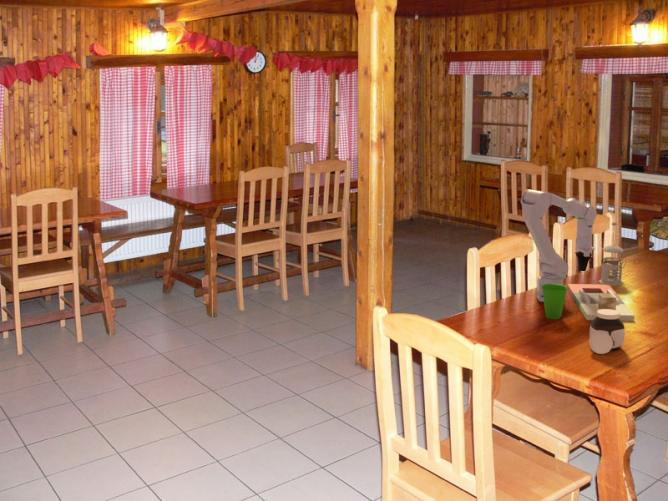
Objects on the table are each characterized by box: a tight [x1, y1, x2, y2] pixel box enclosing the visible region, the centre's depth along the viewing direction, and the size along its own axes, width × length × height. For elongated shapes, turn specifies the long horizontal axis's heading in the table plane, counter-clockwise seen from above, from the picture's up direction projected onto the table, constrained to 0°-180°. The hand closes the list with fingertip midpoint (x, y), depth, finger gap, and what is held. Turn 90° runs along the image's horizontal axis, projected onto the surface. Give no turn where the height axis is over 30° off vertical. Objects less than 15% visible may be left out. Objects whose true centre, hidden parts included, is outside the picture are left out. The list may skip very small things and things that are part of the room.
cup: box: [541, 284, 568, 320], centre depth 293 cm, size 9×9×11 cm
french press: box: [598, 221, 627, 286], centre depth 338 cm, size 10×12×25 cm
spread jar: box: [588, 309, 626, 355], centre depth 259 cm, size 12×11×12 cm
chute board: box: [566, 283, 636, 322], centre depth 310 cm, size 16×42×4 cm, turn 174°
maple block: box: [598, 294, 617, 310], centre depth 295 cm, size 5×5×5 cm
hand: (582, 270), depth 321 cm, fingers closed
